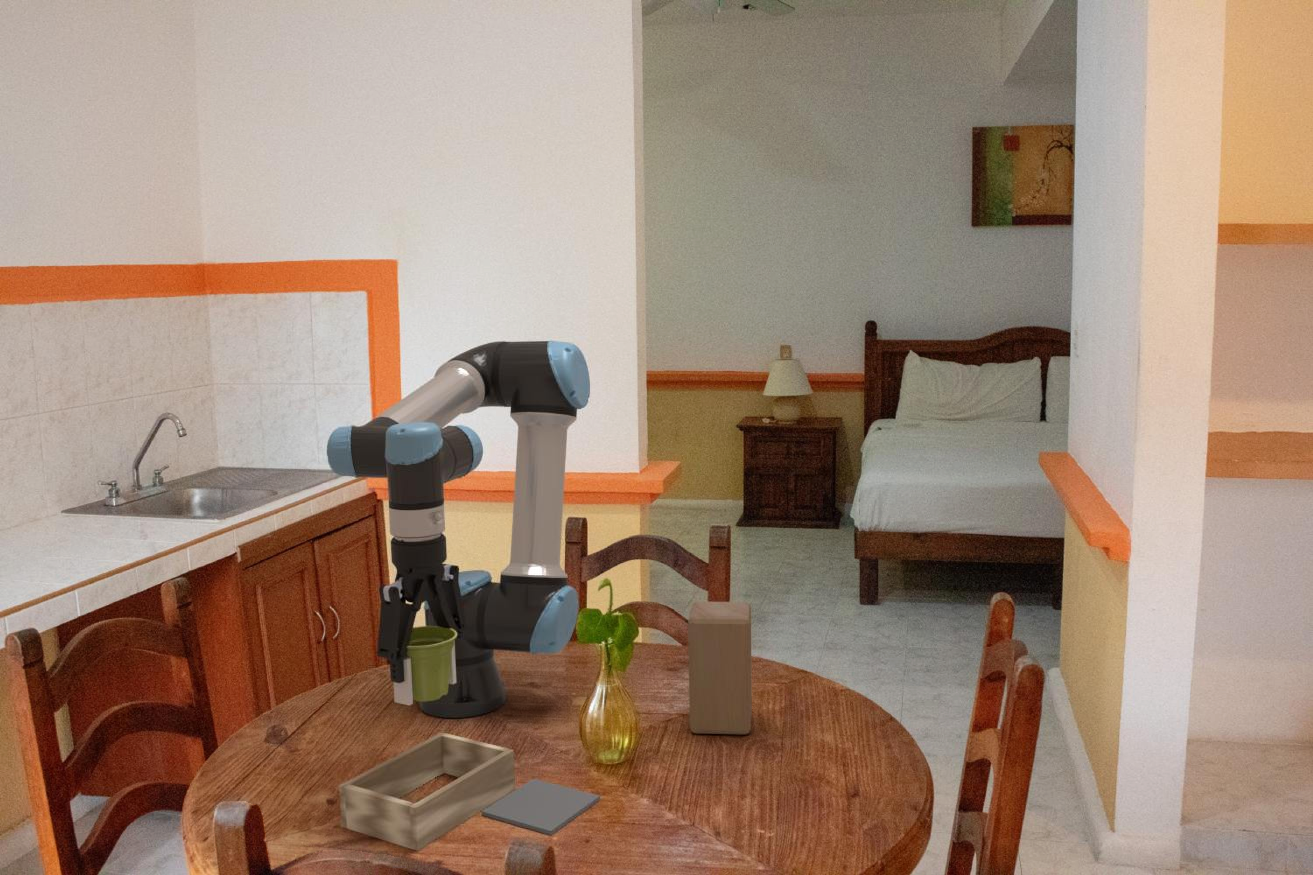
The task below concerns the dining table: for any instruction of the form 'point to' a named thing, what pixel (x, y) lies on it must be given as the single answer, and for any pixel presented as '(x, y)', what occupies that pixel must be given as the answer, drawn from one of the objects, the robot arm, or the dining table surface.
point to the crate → (416, 825)
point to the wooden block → (720, 667)
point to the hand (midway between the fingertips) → (426, 691)
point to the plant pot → (430, 661)
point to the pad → (541, 806)
